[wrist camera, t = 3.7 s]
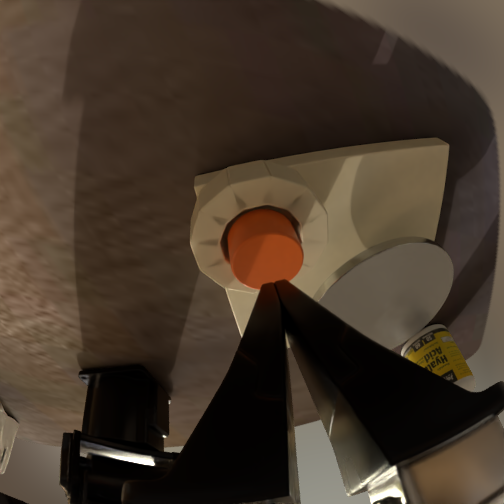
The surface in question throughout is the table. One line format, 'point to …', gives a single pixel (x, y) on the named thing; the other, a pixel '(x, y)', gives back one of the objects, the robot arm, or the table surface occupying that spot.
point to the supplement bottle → (439, 355)
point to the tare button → (264, 248)
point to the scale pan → (390, 289)
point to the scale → (321, 207)
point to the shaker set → (6, 437)
